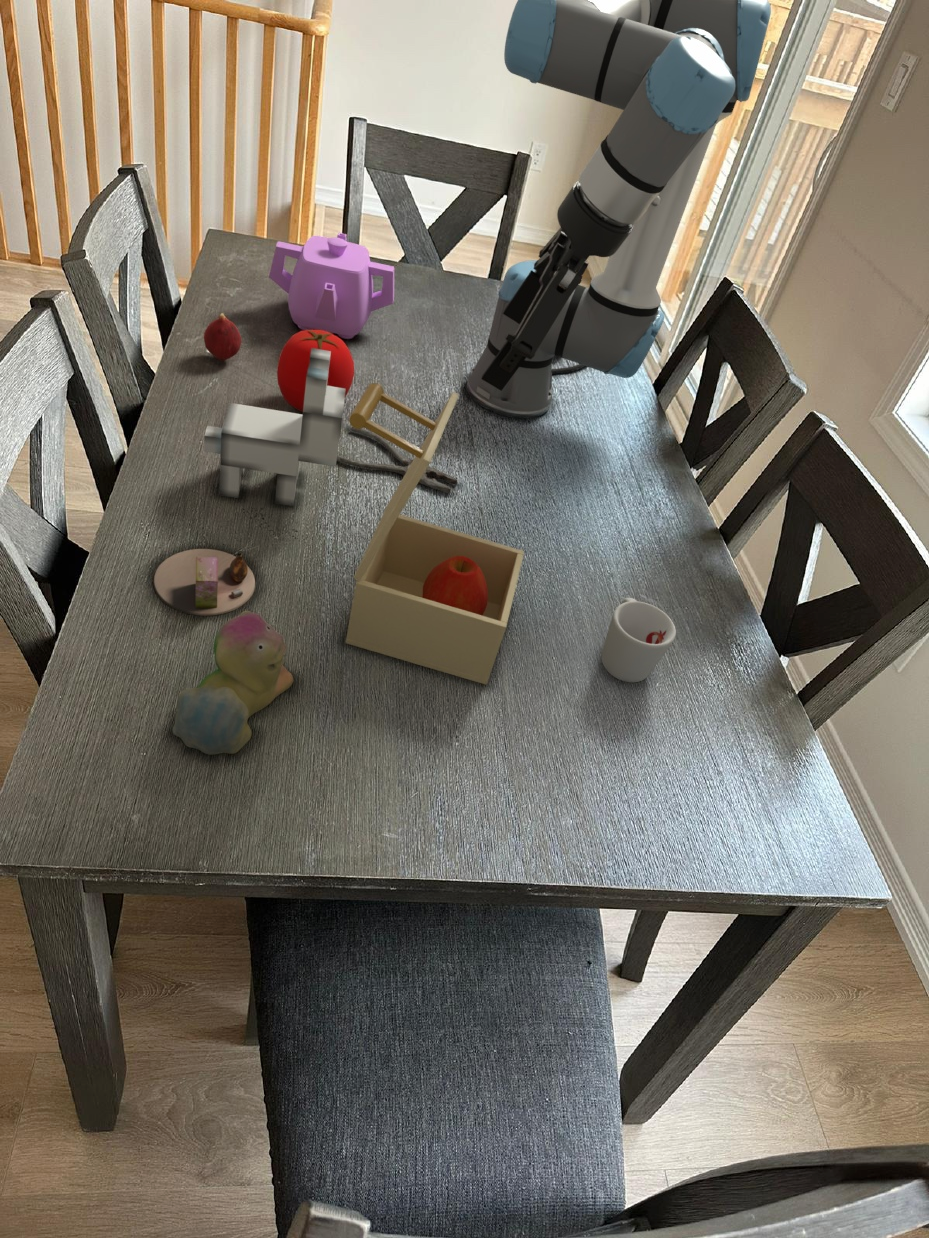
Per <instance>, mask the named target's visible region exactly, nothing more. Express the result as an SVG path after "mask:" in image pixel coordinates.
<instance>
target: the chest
mask: <svg viewBox="0 0 929 1238" xmlns="http://www.w3.org/2000/svg"><path fill="white" fill-rule="evenodd" d="M524 555H525V551H524V550H522V549H519V548H515V547H512V546H508V545H504V544H502V543H498V542H494V541H491V540H488V539H484V538H482V537H477V536H475V535H471V534H468V533H463V532H461V531H457V530H454V529H451V528H448V527H444V526H441V525H437V524H433V523H431V522H427V521H424V520H420V519H417V518H413V517H410V516H406V515H404V514H401V513H400V514H399V516H398V518H397V519H396V521H395V523H394V524H393V526H392V528H391V529H390V531H389V533H388V534H387V536H386V538H385V539H384V541H383V543H382V544H381V546H380V548H379V550H378V551H377V553H376V555H375V556H374V558H373V560H372V561H371V563H370V565H369V566H368V568H367V570H366V571H365V573H364V575H363V576H362V578H361V580H360V581H358V580H356V582H355V584H354V585H355V587H354V592H353V598H352V603H351V609H350V614H349V621H348V626H347V632H346V637H345V644H347V645H351V646H354V647H358V648H360V649H364V650H366V651H367V650H368V651H371V652H373V653H377V654H381V655H384V656H386V657H387V656H388V657H391V658H394V659H398V660H401V661H404V662H408V663H411V664H415V665H417V666H421V667H425V668H429V669H431V670H435V671H438V672H442V673H444V674H448V675H451V676H455V677H458V678H462V679H465V680H468V681H472V682H476V683H479V684H482V685H485V686H487V685H488V682H489V679H490V677H491V674H492V671H493V667H494V665H495V662H496V658H497V656H498V653H499V650H500V647H501V644H502V641H503V638H504V635H505V632H506V629H507V626H508V622H509V616H510V614H511V610H512V606H513V601H514V596H515V593H516V589H517V585H518V581H519V576H520V572H521V568H522V564H523V559H524ZM455 556H464V557H467V558H469V559H471V560H472V561H474V562H475V563H476V564H477V565H478V566H479V567H480V569H481V571H482V573H483V575H484V578H485V581H486V585H487V591H488V602H487V607H486V609H485V611H484V613H483V615H478V614H475V613H472V612H468V611H465V610H461V609H458V608H455V607H451V606H448V605H445V604H441V603H438V602H434V601H431V600H428V599H424V598H423V585H424V582H425V580H426V578H427V576H428V575H429V573H430V572H431V571H432V570H433V568H435V567H436V566H437V565H439V564H440V563H442V562H443V561H445V560H447V559H449V558H451V557H455Z"/></svg>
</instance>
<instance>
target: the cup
mask: <svg viewBox="0 0 929 1238" xmlns="http://www.w3.org/2000/svg"><path fill="white" fill-rule="evenodd" d="M676 635H677V631H676V627H675V624H674V622H673V620H672V619H671V618H670V616H669V615H668V614H667V613H666V612H664V611H663V610H662V609H661V608H659V607H657V606H655V605H653V604H651V603H649V602H648V603H647V602H644V601H638V600H636V599H635V598H634V597H625V598H624V599H622V601H621V602H620V604H619V605H618V606H617V607H616V608H615V609H614V611H613V613H612V617H611V620H610V623H609V626H608V630H607V632H606V636H605V640H604V643H603V646H602V651H601V662H602V665H603V667H604V669H605V670H606V671H607V672H608V673H609V674H610V675H611V676H612V677H613V678H616V679H617V680H619V681H623V682H627V683H637V682H641V681H644V680H645V679H647V678H648V677H649V676H650V675H651V673H652V672H653V671H654V670H655V668H656V667H657V665H658V664H659V662H660V661H661V660H662V658H663V657H664V656H665V654H666V653H667V651H668V649H669V648H670V647H671V646H672V644H673V643H674V642H675V639H676Z"/></svg>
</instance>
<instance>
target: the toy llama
mask: <svg viewBox="0 0 929 1238" xmlns="http://www.w3.org/2000/svg"><path fill="white" fill-rule="evenodd" d="M330 355H331V351H326V350H320V349H315V348H311V354H310V362H309V367H308V371H307V377H306V387H305V397H304V407H303V412H302V414H301V413H296V412H289V411H284V410H276V409H271V408H264V407H259V406H251V405H245V404H240V403H234V402H229V404H228V408H227V412H226V415H225V417H224V418H225V419H224V422H223V426H222V427H220V426H213V425H207V426H206V429H205V432H204V435H203V452H204V453H212V454H219V455H220V458H219V459H220V461H219V462H220V464H219V469H220V470H219V491H218V492H219V494H218V495H219V496H222V497H228V498H235V499H236V498H237V499H239V495H240V492H241V487H242V478H244V475H245V471H246V470H251V471H257V472H258V471H259V472H266V473H270V474H271V473H272V474H277V476H276V486H275V499H274V500H275V501H274V502H275V504H276V505H284V506H292V507H294V505H295V499H296V491H297V485H298V480H299V475H300V474H299V473H300V464H301V462H304V463H310V464H316V465H323V466H328V467H335V468H336V466H337V461H338V460H337V455H339V454H338V453H339V447H340V438H341V433H342V424H343V418H344V417H343V416H344V406H345V399H346V397H345V389H344V388H338V387H332V386H327V380H328V372H329V363H330Z"/></svg>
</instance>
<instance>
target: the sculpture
mask: <svg viewBox="0 0 929 1238" xmlns="http://www.w3.org/2000/svg"><path fill="white" fill-rule="evenodd" d="M286 651H287V644H286V643H285V641H284V636H283V634H281V633H279V632H277V630H276V629H275V628H274V627H273V626H272V625H270V624H269V623H268V622H266V620H265V619H264V618H263V617H262V615H260V614H259V613H254V612H252V611H251V610H244V611H242V612H240V613H239V615H238V616H235V617H232V618H231V619H229V620H227V621H226V622H224V624H222V626H221V627H220V628H219V630H218V632H217V633H216V635H215V638H214V642H213V657H214V660H215V665H216V669H215V670H213V671H212V672H210V673H208V674H207V675H206V676H205V677H204V678H203V679H202V680H201V681H200V683H199V684H198V685H197V687H190V688H185V689H183V690H182V691H181V692H180V693H179V694H178V697H177V700H176V706H177V710H176V713H175V716H174V725H173V727H172V734H173V735H174V736H176V737H179V739H181V740H182V742H183V744H184V745H185V746H186V747H188V748H191V749H196V750H199V751H200V752H202V753H204V754H206V755H219V754H230V755H232V754H236V753H238V752H239V751H240V750H241V749H243V747H244V746H245V745H246V744H247V743H248V742H249V741H250V739H251V738H252V729H251V727H250V726H249V724H248V719H249V718H250V717H251V716H253V715H254V714H255V713H257V712H259V711H261V710H263V709H264V708H267V706H268V705H270V704H271V703H273V701H274V700H275V698H277V697H278V696H279V695H281V694H282V693H284V692H286V691H287V690H288V689H289V688H291V687H292V686H293V683H294V676H293V674H292V673H291V672H290V671H288V670H287V668H286V667H285V666H284V665H283V664H284V661H285V657H286V656H285V654H286Z"/></svg>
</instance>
